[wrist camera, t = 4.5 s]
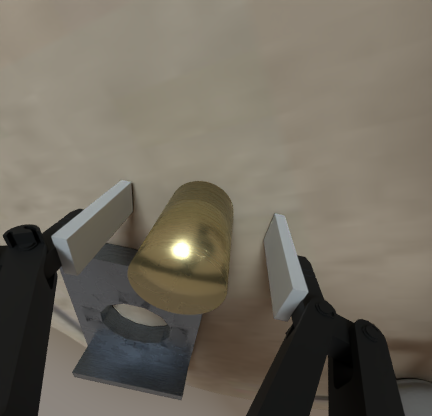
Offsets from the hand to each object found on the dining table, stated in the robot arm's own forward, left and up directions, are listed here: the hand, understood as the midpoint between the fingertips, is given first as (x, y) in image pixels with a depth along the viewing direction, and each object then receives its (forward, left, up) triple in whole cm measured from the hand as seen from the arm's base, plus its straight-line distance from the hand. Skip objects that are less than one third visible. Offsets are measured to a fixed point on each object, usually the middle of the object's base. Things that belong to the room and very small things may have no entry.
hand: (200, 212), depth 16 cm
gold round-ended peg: (0, 0, 0) cm, 0 cm away
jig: (+16, -5, 0) cm, 17 cm away
